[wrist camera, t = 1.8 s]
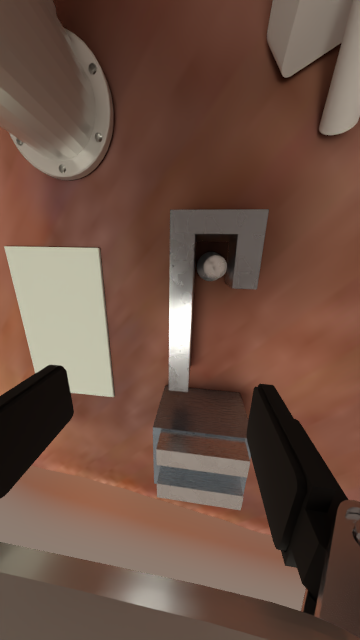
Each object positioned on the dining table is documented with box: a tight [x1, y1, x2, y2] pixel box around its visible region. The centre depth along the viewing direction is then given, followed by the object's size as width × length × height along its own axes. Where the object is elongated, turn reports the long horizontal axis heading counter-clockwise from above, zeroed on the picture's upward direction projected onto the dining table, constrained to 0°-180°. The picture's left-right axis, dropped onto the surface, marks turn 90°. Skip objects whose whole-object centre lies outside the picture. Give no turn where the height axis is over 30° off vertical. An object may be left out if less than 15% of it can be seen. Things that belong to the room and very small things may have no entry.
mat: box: [4, 246, 115, 397], centre depth 28 cm, size 24×14×1 cm, turn 179°
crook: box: [169, 209, 269, 392], centre depth 22 cm, size 20×9×6 cm, turn 179°
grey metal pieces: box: [153, 252, 251, 510], centre depth 23 cm, size 32×12×10 cm, turn 178°
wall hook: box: [267, 0, 360, 135], centre depth 13 cm, size 8×10×10 cm
